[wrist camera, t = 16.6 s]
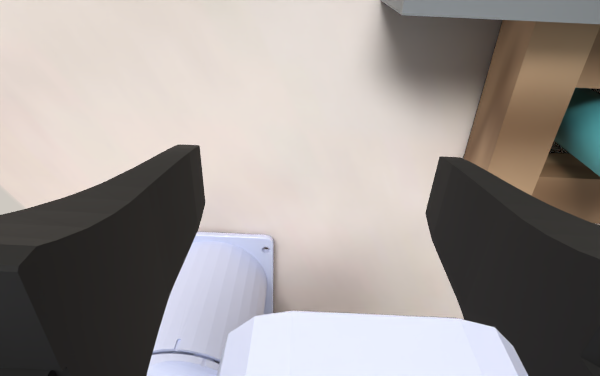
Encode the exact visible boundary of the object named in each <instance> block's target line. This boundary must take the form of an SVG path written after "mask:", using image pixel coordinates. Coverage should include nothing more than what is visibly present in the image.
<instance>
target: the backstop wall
mask: <svg viewBox="0 0 600 376" xmlns="http://www.w3.org/2000/svg"><path fill="white" fill-rule="evenodd" d="M381 1H382V2H383V3H385V4H386V5H388V6H389V7H391V8H392V9H393V10H395V11H396V12H398V13H399V14H401V15H409V16H431V17H453V18H474V19H496V20H517V21H539V22H560V23H582V24H600V0H381Z"/></svg>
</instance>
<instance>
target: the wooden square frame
mask: <svg viewBox="0 0 600 376" xmlns="http://www.w3.org/2000/svg"><path fill="white" fill-rule="evenodd" d="M575 88H595V89H600V24H582V23H560V22H539V21H517V20H503V21H502V25H501V28H500V32H499V35H498V39H497V42H496V46H495V49H494V53H493V56H492V60H491V63H490V67H489V70H488V74H487V78H486V81H485V85H484V88H483V92H482V95H481V99H480V102H479V106H478V109H477V113H476V116H475V120H474V123H473V127H472V130H471V134H470V137H469V141H468V144H467V148H466V151H465V155H464V158H463V159H465V160H467V161H470V162H472V163H474V164H475V165H477V166H479V167H481V168H483V169H485V170H486V171H488V172H490V173H492V174H493V175H495V176H497V177H499V178H500V179H502V180H504V181H506V182H507V183H509V184H511V185H513V186H514V187H516V188H518V189H520V190H522V191H524V192H525V193H527V194H529V195H531V196H533V197H535V198H537V199H539V200H541V201H543V202H545V203H547V204H549V205H551V206H553V207H556V208H558V209H560V210H562V211H565V212H567V213H569V214H572V215H574V216H576V217H579V218H581V219H584V220H586V221H589V222H591V223H600V176H598V175H597V174H596V173H595V172H593V171H592V170H591V169H589V168H588V167H587V166H586V165H584V164H583V163H582V162H580V161H579V160H578V159H577V158H575V157H574V156H573V155H571V154H565V153H549V152H550V149H551V147H552V144H553V142H554V139H555V137H556V134H557V132H558V129H559V127H560V124H561V122H562V119H563V117H564V115H565V112H566V110H567V107H568V105H569V102H570V100H571V97H572V95H573V92H574V90H575Z"/></svg>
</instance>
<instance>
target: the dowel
mask: <svg viewBox="0 0 600 376" xmlns="http://www.w3.org/2000/svg"><path fill="white" fill-rule="evenodd" d="M554 141H555V142H556V143H557V144H559V145H560V146H561V147H562V148H564V149H565V150H566V151H568V152H569V153H570V154H571V155H573V156H574V157H575V158H577V159H578V160H579V161H580V162H582V163H583V164H584V165H586V166H587V167H588V168H589V169H591V170H592V171H593V172H595V173H596V174H597V175H598V176H600V94H599V93H597V92H595V91H593V90H591V89H589V88H575V90H574V92H573V95H572V97H571V100H570V102H569V105H568V107H567V110H566V112H565V115H564V117H563V119H562V122H561V124H560V127H559V129H558V132H557V134H556V137H555V139H554Z"/></svg>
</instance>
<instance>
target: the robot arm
mask: <svg viewBox="0 0 600 376" xmlns="http://www.w3.org/2000/svg"><path fill="white" fill-rule="evenodd" d="M204 206H205V196H204V186H203V176H202V167H201V157H200V147H199V146H198V145H177V146H174V147H172V148H170V149H168V150H166V151H164V152H162V153H160V154H158V155H157V156H155V157H153V158H151V159H149V160H147V161H145V162H144V163H142V164H140V165H138V166H136V167H134V168H132V169H130V170H128V171H126V172H124V173H122V174H120V175H118V176H116V177H114V178H112V179H110V180H108V181H106V182H103V183H101V184H99V185H96V186H94V187H92V188H89V189H87V190H84V191H81V192H79V193H76V194H73V195H70V196H68V197H65V198H61V199H58V200H55V201H51V202H48V203H45V204H41V205H38V206H35V207H31V208H28V209H24V210H20V211H16V212H11V213H7V214H3V215H0V376H600V226H599V225H597V224H594V223H591V222H589V221H586V220H584V219H581V218H579V217H576V216H574V215H572V214H569V213H567V212H565V211H562V210H560V209H558V208H556V207H553V206H551V205H549V204H547V203H545V202H543V201H541V200H539V199H537V198H535V197H533V196H531V195H529V194H527V193H525V192H524V191H522V190H520V189H518V188H516V187H514V186H513V185H511V184H509V183H507V182H506V181H504V180H502V179H500V178H499V177H497V176H495V175H493V174H492V173H490V172H488V171H486V170H485V169H483V168H481V167H479V166H477V165H475V164H474V163H472V162H470V161H467V160H465V159H463V158H458V157H439V161H438V165H437V169H436V173H435V177H434V181H433V185H432V189H431V193H430V197H429V201H428V205H427V209H426V217H427V222H428V226H429V230H430V234H431V238H432V241H433V243H434V246H435V248H436V251H437V253H438V255H439V258H440V260H441V263H442V265H443V267H444V270H445V272H446V274H447V277H448V279H449V281H450V284H451V286H452V288H453V291H454V293H455V295H456V298H457V300H458V303H459V305H460V308H461V311H462V314H463V317H464V320H463V319H458V318H448V317H426V316H404V315H382V314H360V313H338V312H316V311H294V310H292V311H285V312H278V313H273V264H274V240H273V238H272V237H271V236H269V235H258V234H236V233H213V232H197V231H198V228H199V225H200V221H201V218H202V214H203V210H204ZM263 247H268V248H269V249H264V248H263Z"/></svg>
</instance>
